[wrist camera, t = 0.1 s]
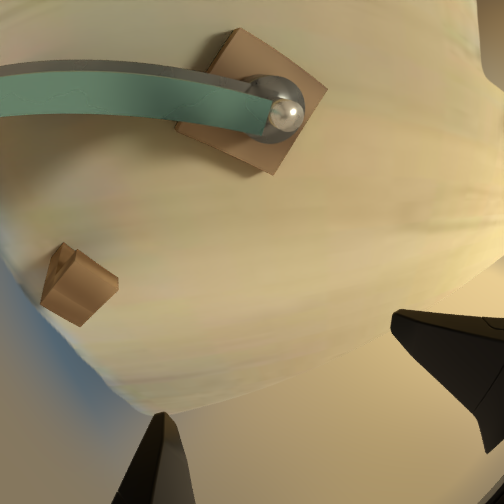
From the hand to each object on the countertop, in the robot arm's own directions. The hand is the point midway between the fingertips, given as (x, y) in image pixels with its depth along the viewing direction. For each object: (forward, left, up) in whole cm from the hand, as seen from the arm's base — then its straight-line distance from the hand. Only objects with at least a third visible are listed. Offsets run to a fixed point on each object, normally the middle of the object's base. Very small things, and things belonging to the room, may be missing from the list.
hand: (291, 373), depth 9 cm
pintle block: (-7, +1, -15) cm, 17 cm away
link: (-6, -6, -14) cm, 16 cm away
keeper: (+8, -6, -15) cm, 18 cm away
